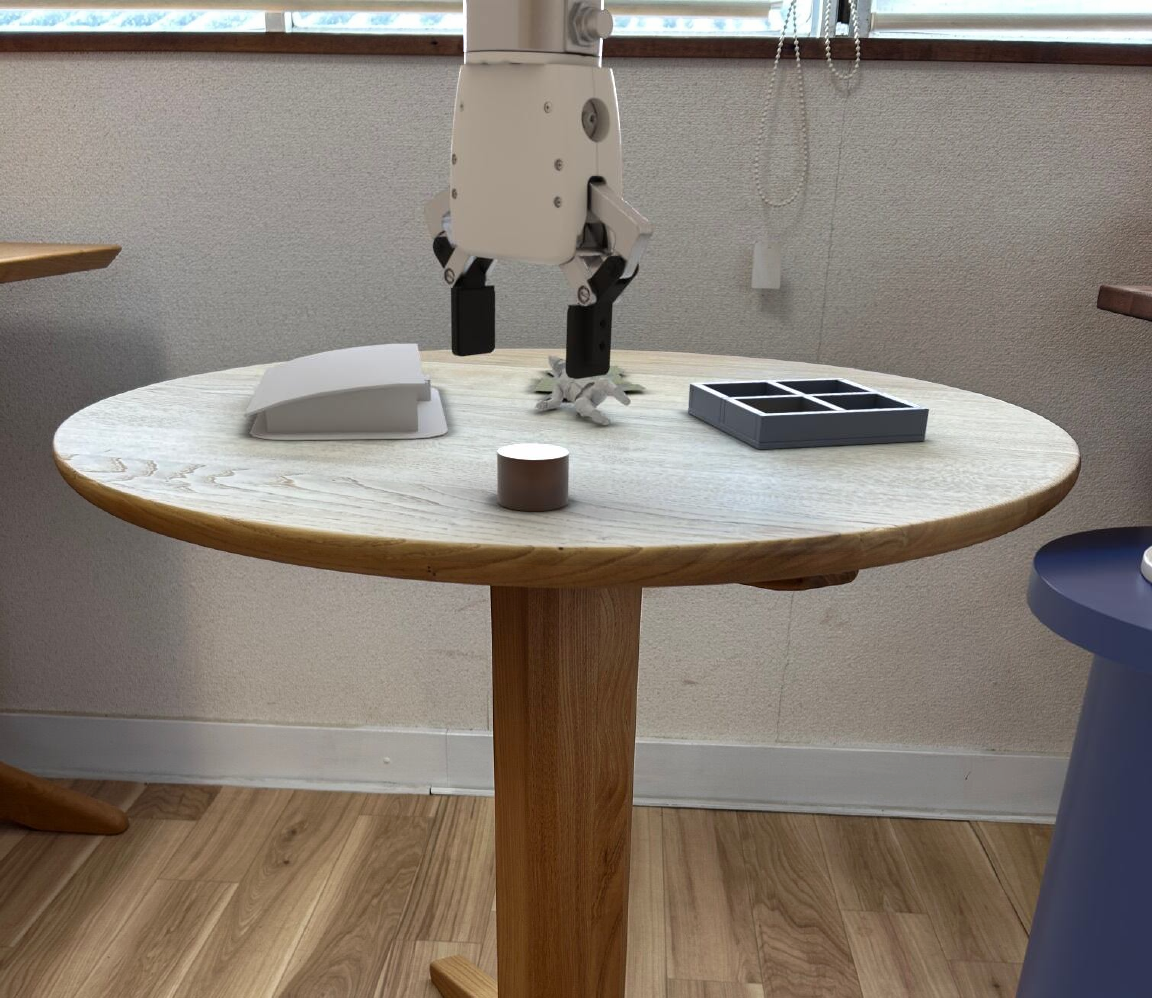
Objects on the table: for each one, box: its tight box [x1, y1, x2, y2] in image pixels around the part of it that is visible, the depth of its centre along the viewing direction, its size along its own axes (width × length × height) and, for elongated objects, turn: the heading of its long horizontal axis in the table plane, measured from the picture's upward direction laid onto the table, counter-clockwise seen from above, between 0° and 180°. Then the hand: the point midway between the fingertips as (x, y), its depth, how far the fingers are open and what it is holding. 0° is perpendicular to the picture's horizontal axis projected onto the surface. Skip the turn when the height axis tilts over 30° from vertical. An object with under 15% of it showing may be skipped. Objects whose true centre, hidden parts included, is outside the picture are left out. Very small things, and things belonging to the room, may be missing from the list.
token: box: [496, 443, 570, 512], centre depth 77 cm, size 4×4×3 cm
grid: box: [687, 377, 930, 450], centre depth 100 cm, size 14×14×2 cm
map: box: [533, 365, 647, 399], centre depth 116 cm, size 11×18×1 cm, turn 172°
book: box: [244, 343, 449, 441], centre depth 102 cm, size 15×23×4 cm, turn 8°
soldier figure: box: [534, 354, 632, 426], centre depth 103 cm, size 8×5×12 cm
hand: (528, 364), depth 74 cm, fingers open, 9 cm apart
